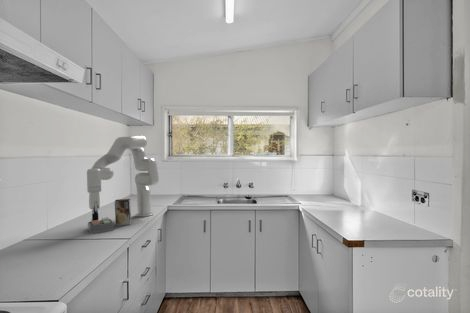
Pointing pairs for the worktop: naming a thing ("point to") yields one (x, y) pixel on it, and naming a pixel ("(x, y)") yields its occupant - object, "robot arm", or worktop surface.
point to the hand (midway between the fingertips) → (95, 220)
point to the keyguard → (101, 227)
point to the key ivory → (105, 219)
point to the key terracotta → (95, 222)
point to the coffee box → (122, 212)
